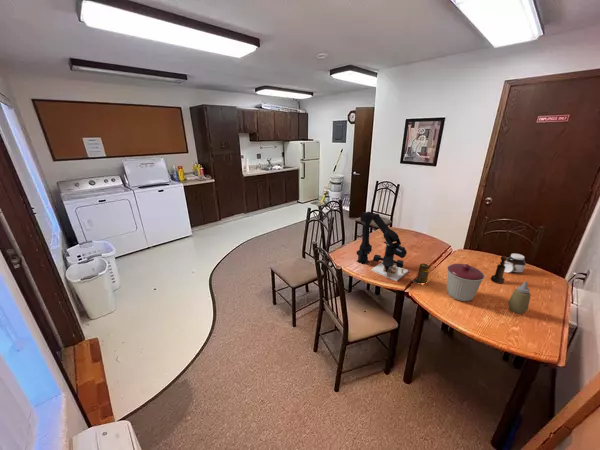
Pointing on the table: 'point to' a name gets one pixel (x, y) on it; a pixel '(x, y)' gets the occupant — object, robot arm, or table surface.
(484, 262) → the table surface
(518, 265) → the spread jar
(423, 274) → the condiment
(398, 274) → the board
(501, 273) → the pepper mill
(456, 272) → the canister
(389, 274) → the block
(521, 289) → the squeeze bottle
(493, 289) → the table surface
